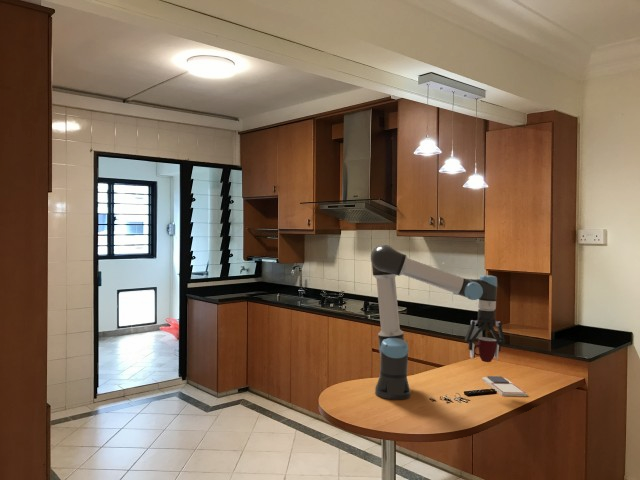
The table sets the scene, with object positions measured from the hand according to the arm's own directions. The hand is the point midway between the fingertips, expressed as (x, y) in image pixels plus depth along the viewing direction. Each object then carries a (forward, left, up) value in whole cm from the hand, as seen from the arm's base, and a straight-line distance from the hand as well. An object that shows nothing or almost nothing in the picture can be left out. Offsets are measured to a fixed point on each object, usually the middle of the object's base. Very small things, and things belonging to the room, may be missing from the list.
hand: (483, 357), depth 233 cm
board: (+12, +6, -15) cm, 21 cm away
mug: (0, 0, -2) cm, 2 cm away
